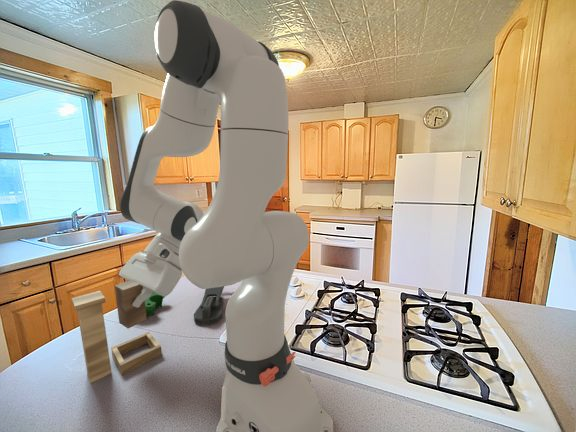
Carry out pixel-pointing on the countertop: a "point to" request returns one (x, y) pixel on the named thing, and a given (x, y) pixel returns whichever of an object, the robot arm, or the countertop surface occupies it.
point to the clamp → (153, 303)
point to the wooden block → (126, 311)
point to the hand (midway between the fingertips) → (128, 302)
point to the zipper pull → (210, 307)
